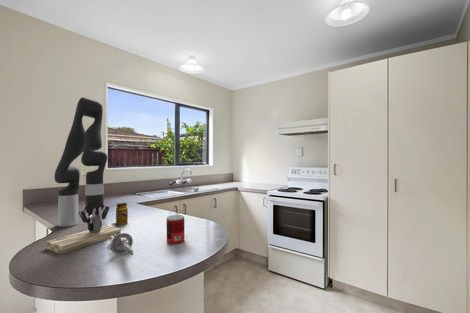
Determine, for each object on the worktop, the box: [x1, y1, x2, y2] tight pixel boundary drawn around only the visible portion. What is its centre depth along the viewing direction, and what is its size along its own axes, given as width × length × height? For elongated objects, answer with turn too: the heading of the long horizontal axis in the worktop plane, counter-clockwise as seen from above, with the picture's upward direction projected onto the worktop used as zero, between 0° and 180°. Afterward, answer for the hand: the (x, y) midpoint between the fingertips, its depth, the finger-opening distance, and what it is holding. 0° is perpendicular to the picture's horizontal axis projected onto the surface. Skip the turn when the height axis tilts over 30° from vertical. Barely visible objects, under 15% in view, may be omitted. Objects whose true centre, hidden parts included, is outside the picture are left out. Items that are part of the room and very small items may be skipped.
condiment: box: [110, 202, 130, 228], centre depth 133 cm, size 7×8×12 cm
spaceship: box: [109, 232, 134, 256], centre depth 92 cm, size 8×35×8 cm
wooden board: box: [45, 225, 122, 255], centre depth 106 cm, size 12×26×3 cm, turn 152°
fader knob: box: [89, 215, 101, 233], centre depth 109 cm, size 4×3×8 cm
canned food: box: [166, 214, 185, 245], centre depth 104 cm, size 8×8×11 cm
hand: (94, 229), depth 109 cm, fingers closed on fader knob, 3 cm apart
